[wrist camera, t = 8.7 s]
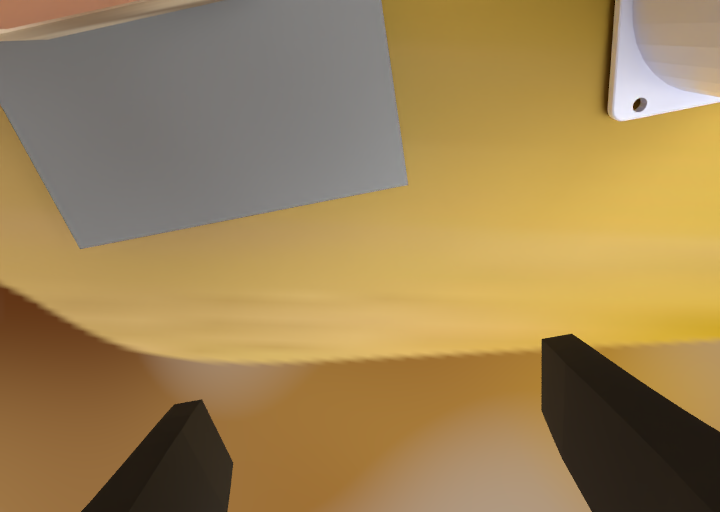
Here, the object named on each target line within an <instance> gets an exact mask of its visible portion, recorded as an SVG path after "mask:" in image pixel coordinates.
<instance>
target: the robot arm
mask: <svg viewBox="0 0 720 512" xmlns="http://www.w3.org/2000/svg"><path fill="white" fill-rule="evenodd" d="M639 98H640V101H641V103H640V105H639V107H638V108H637V109H635V110H633V104H634V102H635V101H636V100H637V99H639ZM718 102H720V0H615V12H614V26H613V40H612V54H611V68H610V82H609V96H608V114H609V116H610V117H611V118H613V119H615V120H618V121H627V120H632V119H637V118H642V117H647V116H652V115H657V114H662V113H667V112H672V111H677V110H682V109H688V108H693V107H698V106H703V105H708V104H713V103H718ZM542 412H543V415H544V417H545V420H546V422H547V425H548V427H549V429H550V432H551V434H552V437H553V439H554V441H555V443H556V446H557V448H558V450H559V453H560V455H561V457H562V459H563V461H564V463H565V464H566V466H567V468H568V470H569V472H570V473H571V475H572V477H573V479H574V481H575V482H576V484H577V486H578V488H579V490H580V491H581V493H582V495H583V497H584V498H585V500H586V502H587V504H588V505H589V507H590V509H591V511H592V512H720V432H719V431H717V430H716V429H714V428H712V427H711V426H709V425H707V424H706V423H704V422H703V421H701V420H699V419H698V418H696V417H695V416H693V415H691V414H689V413H688V412H687V411H685V410H683V409H682V408H680V407H678V406H677V405H676V404H674V403H673V402H671V401H670V400H668V399H666V398H665V397H663V396H662V395H660V394H659V393H657V392H656V391H654V390H653V389H651V388H649V387H648V386H647V385H645V384H644V383H642V382H640V381H639V380H638V379H636V378H635V377H633V376H632V375H630V374H629V373H628V372H626V371H625V370H623V369H622V368H620V367H619V366H617V365H616V364H615V363H613V362H612V361H610V360H609V359H607V358H606V357H604V356H603V355H602V354H600V353H599V352H597V351H596V350H595V349H593V348H592V347H590V346H589V345H587V344H586V343H584V342H583V341H582V340H580V339H579V338H577V337H576V336H574V335H573V334H568V335H562V336H557V337H551V338H545V339H542ZM232 468H233V462H232V460H231V458H230V455H229V453H228V452H227V450H226V447H225V445H224V443H223V442H222V439H221V437H220V435H219V433H218V431H217V429H216V427H215V425H214V423H213V421H212V419H211V417H210V415H209V413H208V411H207V409H206V407H205V405H204V403H203V401H202V400H197V401H191V402H185V403H180V404H175V405H174V406H173V407H172V408H171V409H170V410H169V411H168V412H167V413H166V414H165V415H164V417H163V418H162V419H161V420H160V421H159V422H158V423H157V425H156V426H155V427H154V428H153V429H152V430H151V432H150V433H149V434H148V435H147V436H146V438H145V439H144V440H143V441H142V442H141V444H140V445H139V446H138V447H137V448H136V449H135V451H134V452H133V453H132V454H131V455H130V456H129V458H128V459H127V460H126V461H125V462H124V463H123V464H122V466H121V467H120V468H119V469H118V470H117V471H116V473H115V474H114V475H113V476H112V477H111V479H110V480H109V481H108V482H107V483H106V484H105V485H104V487H103V488H102V489H101V490H100V491H99V492H98V494H97V495H96V496H95V497H94V498H93V500H91V501H90V503H89V504H88V505H87V506H86V507H85V508H84V509H83V510H82V511H81V512H227V509H228V502H229V494H230V487H231V478H232Z"/></svg>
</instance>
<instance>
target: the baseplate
mask: <svg viewBox="0 0 720 512" xmlns="http://www.w3.org/2000/svg"><path fill="white" fill-rule="evenodd" d="M0 105H1V107H2V108H3V110H4V112H5V114H6V116H7V117H8V119H9V121H10V123H11V125H12V127H13V128H14V130H15V132H16V134H17V136H18V137H19V139H20V141H21V143H22V145H23V146H24V148H25V150H26V152H27V154H28V156H29V157H30V159H31V161H32V163H33V165H34V166H35V168H36V170H37V172H38V174H39V175H40V177H41V179H42V181H43V183H44V184H45V186H46V188H47V190H48V192H49V194H50V195H51V197H52V199H53V201H54V203H55V204H56V206H57V208H58V210H59V212H60V213H61V215H62V217H63V219H64V221H65V223H66V224H67V226H68V228H69V230H70V232H71V233H72V235H73V237H74V239H75V241H76V242H77V244H78V246H79V248H80V249H83V248H89V247H94V246H99V245H104V244H109V243H114V242H119V241H124V240H129V239H134V238H140V237H145V236H150V235H155V234H160V233H165V232H170V231H175V230H180V229H185V228H191V227H196V226H201V225H206V224H211V223H216V222H221V221H226V220H231V219H236V218H242V217H247V216H252V215H257V214H262V213H267V212H272V211H277V210H282V209H287V208H293V207H298V206H303V205H308V204H313V203H318V202H323V201H328V200H333V199H338V198H344V197H349V196H354V195H359V194H364V193H369V192H374V191H379V190H384V189H389V188H395V187H400V186H405V185H408V180H407V173H406V167H405V160H404V153H403V146H402V139H401V132H400V125H399V119H398V112H397V105H396V98H395V91H394V84H393V77H392V71H391V64H390V57H389V50H388V43H387V36H386V30H385V23H384V16H383V9H382V2H381V0H223V1H219V2H214V3H210V4H205V5H201V6H196V7H192V8H187V9H183V10H178V11H174V12H169V13H165V14H160V15H156V16H152V17H147V18H143V19H138V20H134V21H129V22H125V23H120V24H116V25H111V26H107V27H102V28H98V29H93V30H89V31H84V32H80V33H75V34H71V35H66V36H62V37H57V38H53V39H48V40H23V41H0Z"/></svg>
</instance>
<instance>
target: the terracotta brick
mask: <svg viewBox="0 0 720 512" xmlns="http://www.w3.org/2000/svg"><path fill="white" fill-rule="evenodd" d="M134 1H139V0H0V29H10V28H14V27H19V26H24V25H28V24H33V23H37V22H42V21H47V20H51V19H56V18H60V17H65V16H70V15H74V14H79V13H84V12H88V11H93V10H97V9H102V8H107V7H111V6H116V5H120V4H125V3H130V2H134Z"/></svg>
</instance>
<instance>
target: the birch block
mask: <svg viewBox="0 0 720 512" xmlns="http://www.w3.org/2000/svg"><path fill="white" fill-rule="evenodd" d="M219 1H223V0H139V1H134V2H130V3H125V4H120V5H116V6H111V7H107V8H102V9H97V10H93V11H88V12H84V13H79V14H74V15H70V16H65V17H60V18H56V19H51V20H47V21H42V22H37V23H33V24H28V25H24V26H19V27H14V28H10V29H0V41H23V40H48V39H53V38H57V37H62V36H66V35H71V34H75V33H80V32H84V31H89V30H93V29H98V28H102V27H107V26H111V25H116V24H120V23H125V22H129V21H134V20H138V19H143V18H147V17H152V16H156V15H160V14H165V13H169V12H174V11H178V10H183V9H187V8H192V7H196V6H201V5H205V4H210V3H214V2H219Z"/></svg>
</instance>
